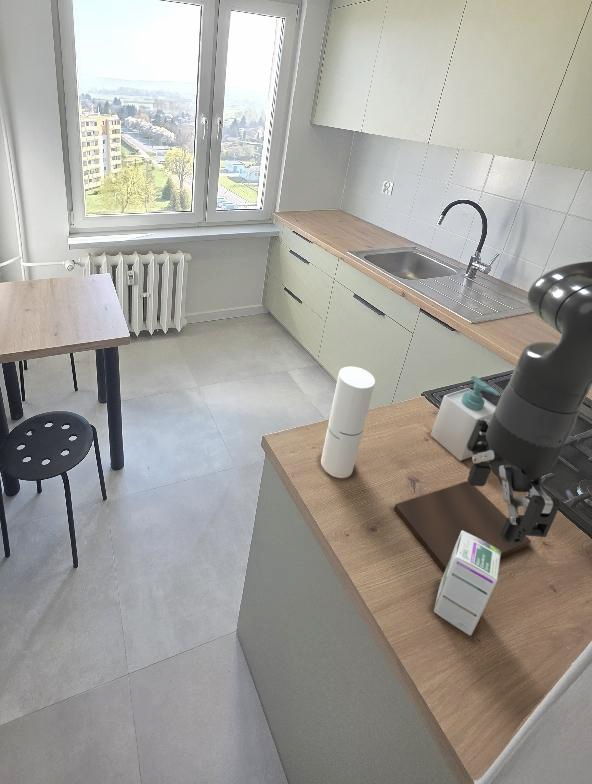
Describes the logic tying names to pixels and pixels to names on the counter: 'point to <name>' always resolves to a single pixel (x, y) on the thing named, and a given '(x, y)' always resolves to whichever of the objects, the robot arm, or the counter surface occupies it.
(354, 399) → the cylindrical container
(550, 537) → the counter surface
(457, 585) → the syrup box
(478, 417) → the soap bottle
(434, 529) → the board
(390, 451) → the counter surface
